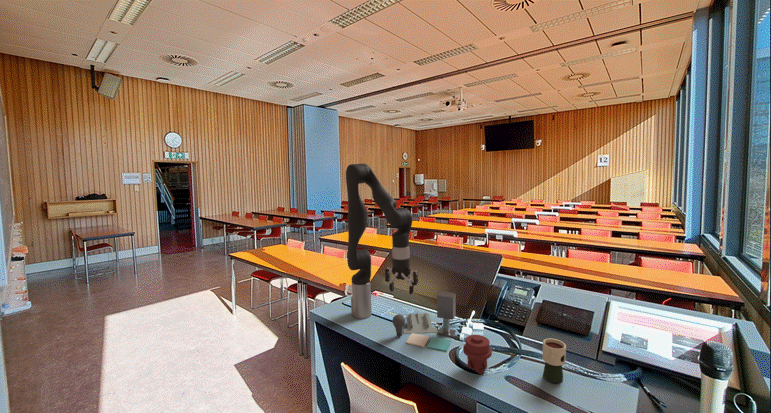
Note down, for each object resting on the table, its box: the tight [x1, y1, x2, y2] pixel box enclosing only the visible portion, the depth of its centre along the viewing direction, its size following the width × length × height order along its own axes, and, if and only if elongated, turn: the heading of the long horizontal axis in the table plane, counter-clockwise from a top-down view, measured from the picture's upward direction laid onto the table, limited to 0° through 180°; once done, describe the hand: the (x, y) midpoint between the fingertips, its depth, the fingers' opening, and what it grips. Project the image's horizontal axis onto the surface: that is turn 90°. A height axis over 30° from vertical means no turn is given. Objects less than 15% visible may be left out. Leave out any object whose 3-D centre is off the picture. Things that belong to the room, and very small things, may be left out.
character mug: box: [542, 338, 567, 384], centre depth 116 cm, size 11×7×13 cm, turn 149°
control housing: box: [436, 291, 457, 338], centre depth 148 cm, size 7×5×18 cm
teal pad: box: [427, 336, 452, 352], centre depth 140 cm, size 8×8×1 cm
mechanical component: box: [462, 334, 493, 375], centre depth 122 cm, size 12×10×10 cm
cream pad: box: [405, 333, 430, 348], centre depth 144 cm, size 8×8×1 cm
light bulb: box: [392, 313, 406, 338], centre depth 147 cm, size 6×6×10 cm
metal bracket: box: [403, 311, 439, 335], centre depth 155 cm, size 14×6×15 cm
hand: (401, 292), depth 145 cm, fingers open, 8 cm apart
